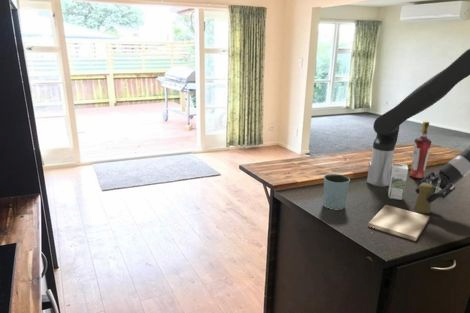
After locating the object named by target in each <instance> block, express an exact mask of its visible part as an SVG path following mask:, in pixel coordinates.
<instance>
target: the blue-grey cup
mask: <svg viewBox="0 0 470 313" xmlns="http://www.w3.org/2000/svg"><path fill="white" fill-rule="evenodd" d="M350 183H351V179H350V177H348V176H346V175H343V174H337V173H330V174H325V175H324V176H323V199H322V203H323V204H324V205H325V206H326V207H329V208H332V209H342V208H344V209H345V208H346V202H347V198H348V192H349V186H350ZM324 205H323V206H324ZM325 206H324V207H325ZM326 207H325V208H326ZM342 210H343V209H342Z"/></svg>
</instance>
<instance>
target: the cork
mask: <svg viewBox="0 0 470 313" xmlns="http://www.w3.org/2000/svg"><path fill="white" fill-rule="evenodd" d="M418 187H419V191H420V192H419V194H418V195H417V198H416V201H415V205H414V207H413V209H414V211H416V212H417V213H420V214H430V213H432V202H431V203H429V202H428V201H427V200H426V198H428V197H429V196H430V195H431V194H433V193H434V192H435V190H434V189H435V187H433V186H432V185H431V184H428V183H422V182H421V183H420V184H419V186H418Z"/></svg>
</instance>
